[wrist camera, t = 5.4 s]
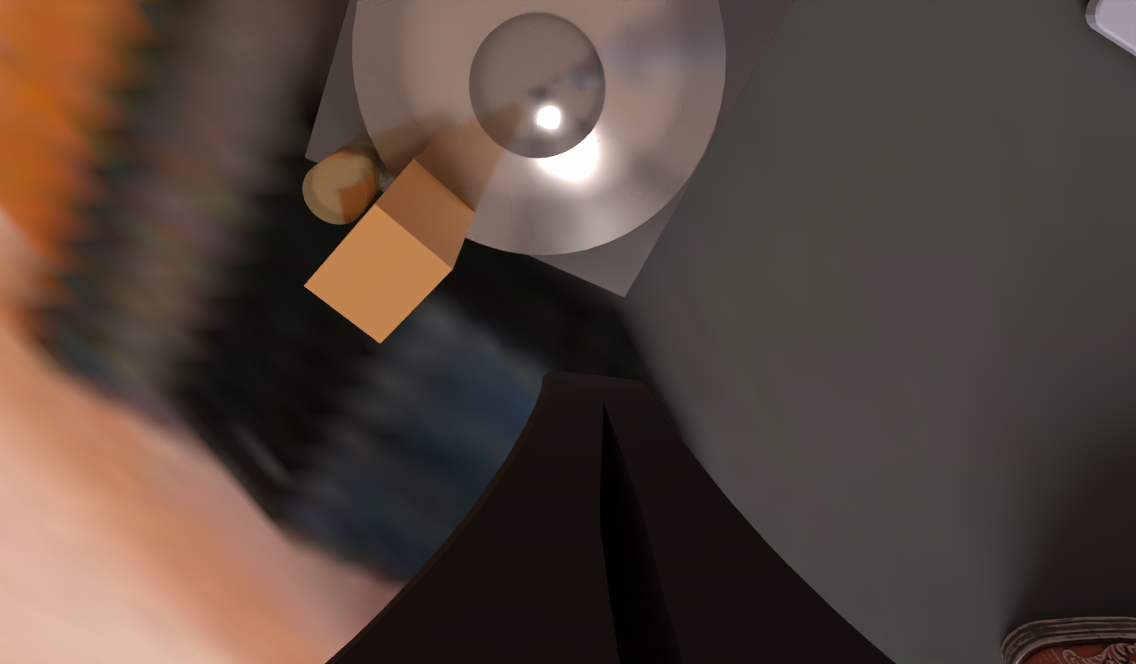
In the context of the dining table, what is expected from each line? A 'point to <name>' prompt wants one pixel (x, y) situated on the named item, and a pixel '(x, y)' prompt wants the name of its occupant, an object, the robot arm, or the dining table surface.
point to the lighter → (1073, 641)
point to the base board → (359, 175)
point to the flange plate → (518, 133)
